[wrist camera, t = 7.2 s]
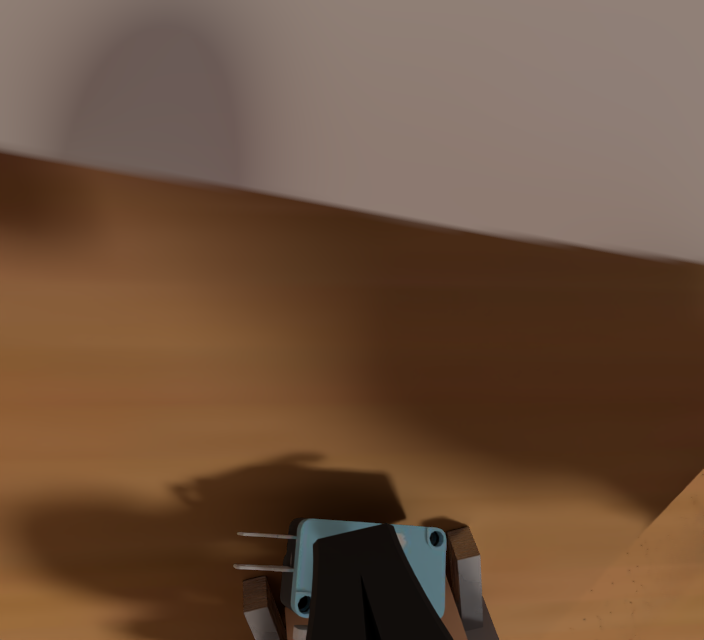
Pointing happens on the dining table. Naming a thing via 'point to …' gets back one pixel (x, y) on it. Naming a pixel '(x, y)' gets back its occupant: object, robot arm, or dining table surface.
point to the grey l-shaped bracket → (464, 588)
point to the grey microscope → (297, 570)
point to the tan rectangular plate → (448, 618)
